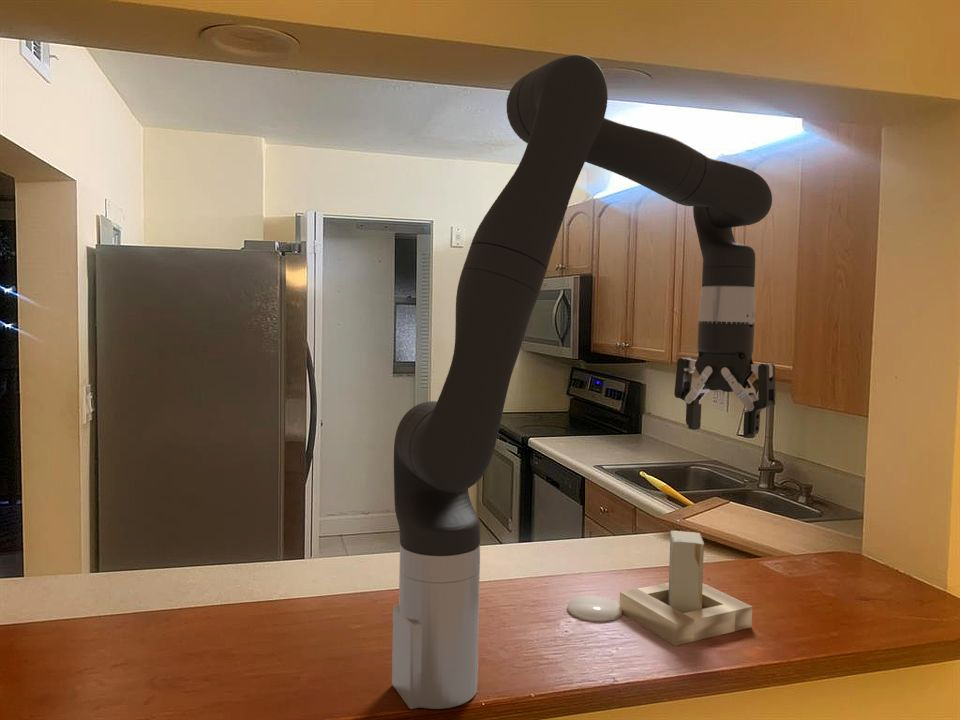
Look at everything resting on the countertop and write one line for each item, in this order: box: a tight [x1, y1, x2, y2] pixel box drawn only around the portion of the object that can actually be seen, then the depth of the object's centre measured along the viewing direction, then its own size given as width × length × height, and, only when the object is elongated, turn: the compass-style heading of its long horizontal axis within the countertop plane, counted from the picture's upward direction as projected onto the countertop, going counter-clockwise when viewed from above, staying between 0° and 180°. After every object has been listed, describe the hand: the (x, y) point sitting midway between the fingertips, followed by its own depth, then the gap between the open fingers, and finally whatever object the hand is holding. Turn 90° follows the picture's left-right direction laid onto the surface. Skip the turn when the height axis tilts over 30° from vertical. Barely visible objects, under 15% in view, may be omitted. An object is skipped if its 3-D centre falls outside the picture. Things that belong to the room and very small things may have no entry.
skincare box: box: [668, 530, 705, 613], centre depth 103 cm, size 6×4×12 cm
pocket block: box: [619, 582, 753, 647], centre depth 103 cm, size 14×12×3 cm
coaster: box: [567, 595, 623, 623], centre depth 106 cm, size 8×8×1 cm
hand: (721, 433), depth 102 cm, fingers open, 8 cm apart
